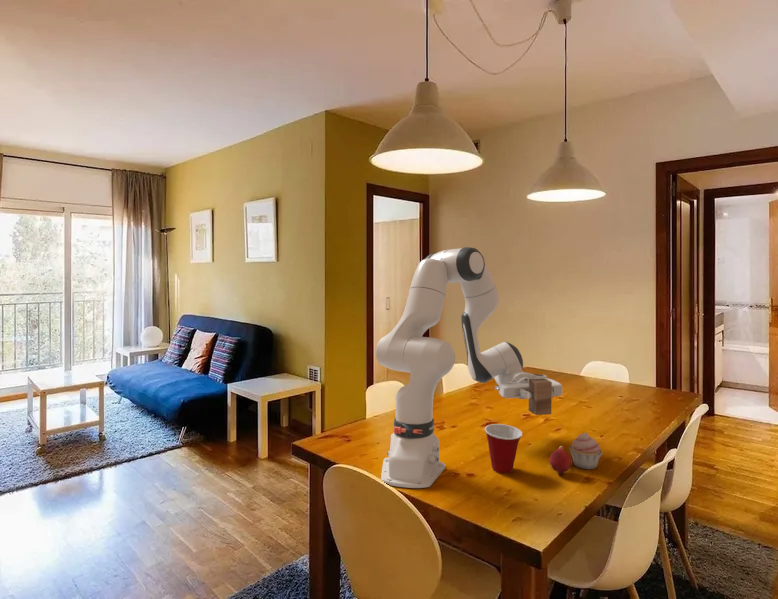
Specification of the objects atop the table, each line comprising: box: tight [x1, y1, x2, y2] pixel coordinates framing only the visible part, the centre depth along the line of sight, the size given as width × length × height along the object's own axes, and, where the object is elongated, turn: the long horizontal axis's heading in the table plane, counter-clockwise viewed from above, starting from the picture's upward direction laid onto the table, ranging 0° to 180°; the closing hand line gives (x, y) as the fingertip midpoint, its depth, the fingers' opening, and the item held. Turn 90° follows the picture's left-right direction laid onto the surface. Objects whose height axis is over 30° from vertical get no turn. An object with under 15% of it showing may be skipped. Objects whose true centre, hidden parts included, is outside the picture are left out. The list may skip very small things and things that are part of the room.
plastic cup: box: [484, 423, 523, 474], centre depth 137 cm, size 11×11×12 cm
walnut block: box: [528, 378, 553, 416], centre depth 145 cm, size 5×5×10 cm
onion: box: [549, 445, 573, 475], centre depth 134 cm, size 6×6×8 cm
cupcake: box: [568, 432, 603, 470], centre depth 140 cm, size 9×9×10 cm
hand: (541, 395), depth 144 cm, fingers closed on walnut block, 5 cm apart
